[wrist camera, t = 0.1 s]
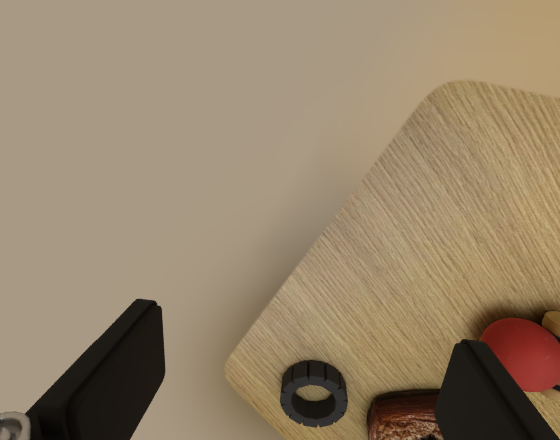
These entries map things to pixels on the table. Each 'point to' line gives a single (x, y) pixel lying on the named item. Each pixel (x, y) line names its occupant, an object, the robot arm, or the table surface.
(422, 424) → the pastry
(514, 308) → the table surface
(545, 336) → the kendama
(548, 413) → the table surface
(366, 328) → the table surface
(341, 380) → the ring
